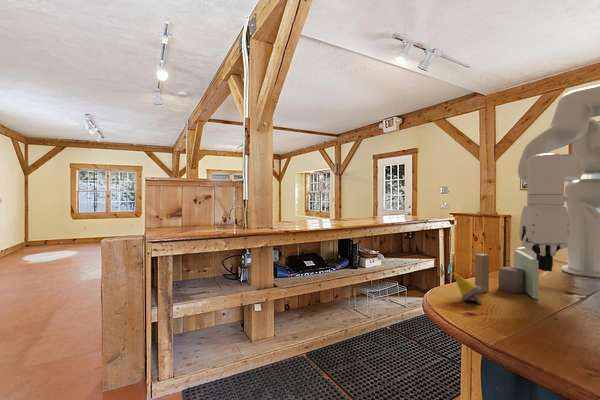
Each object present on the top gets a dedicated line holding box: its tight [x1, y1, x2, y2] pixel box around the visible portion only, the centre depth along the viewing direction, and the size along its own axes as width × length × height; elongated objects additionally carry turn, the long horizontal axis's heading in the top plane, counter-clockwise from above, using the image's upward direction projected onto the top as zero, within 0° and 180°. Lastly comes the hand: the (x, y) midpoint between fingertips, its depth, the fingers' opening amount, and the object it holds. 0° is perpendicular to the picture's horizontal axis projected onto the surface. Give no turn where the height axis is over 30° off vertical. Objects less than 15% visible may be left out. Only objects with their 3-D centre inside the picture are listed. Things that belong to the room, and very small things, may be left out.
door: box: [513, 248, 539, 299], centre depth 85 cm, size 15×1×10 cm, turn 161°
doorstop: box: [498, 266, 525, 295], centre depth 85 cm, size 6×6×6 cm
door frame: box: [474, 246, 536, 294], centre depth 90 cm, size 28×2×10 cm, turn 115°
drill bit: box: [452, 271, 483, 305], centre depth 78 cm, size 5×5×10 cm
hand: (544, 269), depth 80 cm, fingers closed
